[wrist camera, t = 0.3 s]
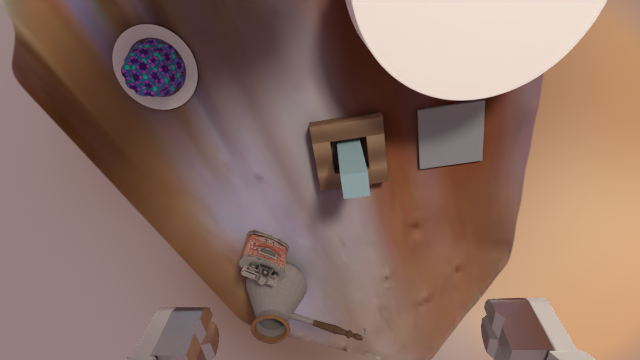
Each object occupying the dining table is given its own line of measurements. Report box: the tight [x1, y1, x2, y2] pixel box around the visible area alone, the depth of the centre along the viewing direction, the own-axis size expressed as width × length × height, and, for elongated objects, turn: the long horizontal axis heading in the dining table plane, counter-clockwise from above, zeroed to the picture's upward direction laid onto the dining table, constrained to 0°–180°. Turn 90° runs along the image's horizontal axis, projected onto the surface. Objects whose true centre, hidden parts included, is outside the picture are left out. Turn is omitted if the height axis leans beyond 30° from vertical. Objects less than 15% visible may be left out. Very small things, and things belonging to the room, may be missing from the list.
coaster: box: [417, 99, 485, 169], centre depth 58 cm, size 10×10×1 cm
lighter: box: [239, 230, 288, 286], centre depth 64 cm, size 8×3×10 cm, turn 63°
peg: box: [337, 138, 370, 199], centre depth 55 cm, size 4×4×12 cm
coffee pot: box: [246, 262, 365, 344], centre depth 66 cm, size 21×12×15 cm, turn 91°
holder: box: [309, 112, 388, 191], centre depth 59 cm, size 11×11×2 cm
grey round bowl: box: [112, 24, 198, 110], centre depth 52 cm, size 12×12×5 cm
